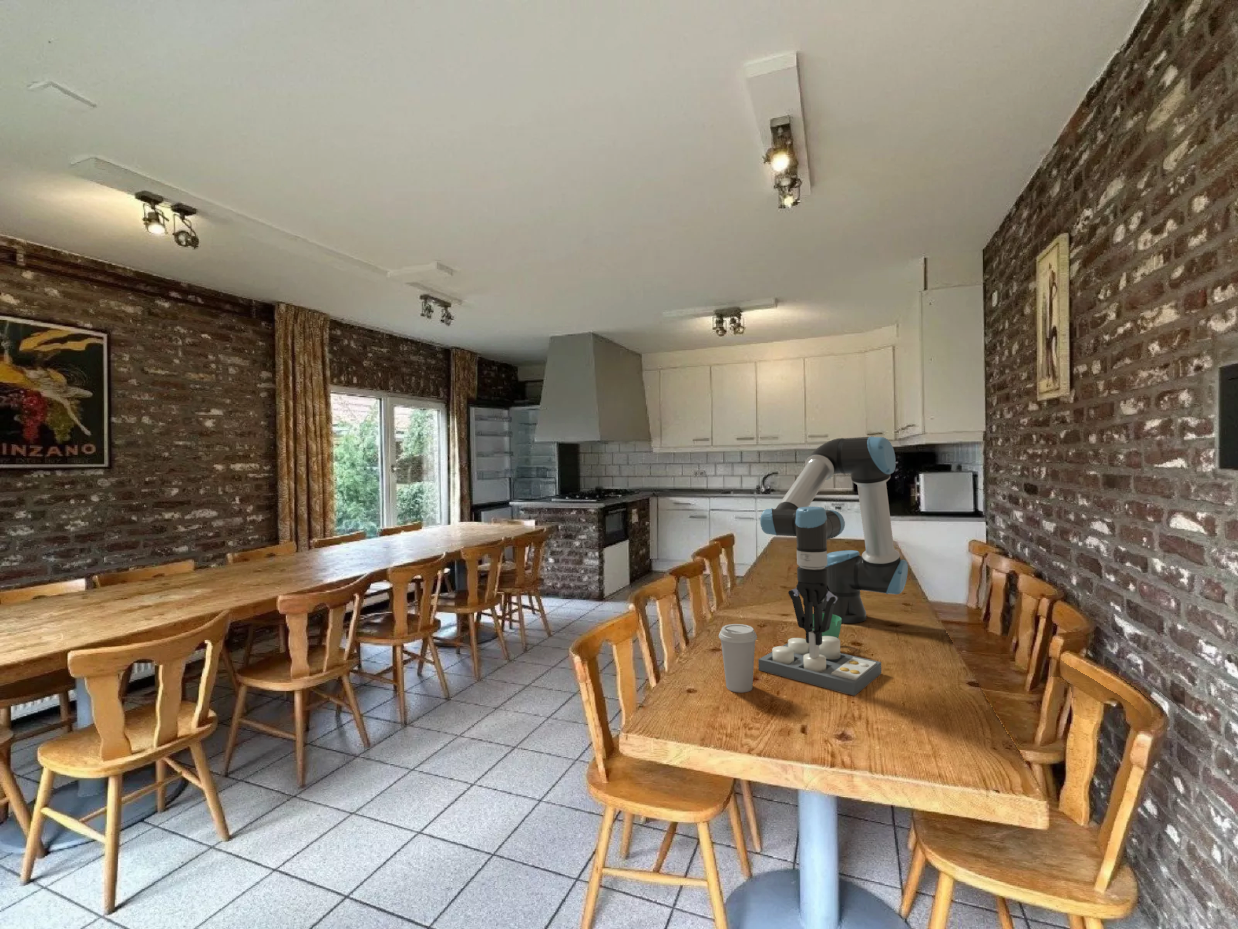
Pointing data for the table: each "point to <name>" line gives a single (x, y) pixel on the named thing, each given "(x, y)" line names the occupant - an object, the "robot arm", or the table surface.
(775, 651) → the button
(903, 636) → the table surface
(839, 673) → the board
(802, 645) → the button
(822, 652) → the button
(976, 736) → the table surface
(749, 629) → the coffee cup
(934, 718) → the table surface
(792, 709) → the table surface
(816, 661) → the button
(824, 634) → the mug
